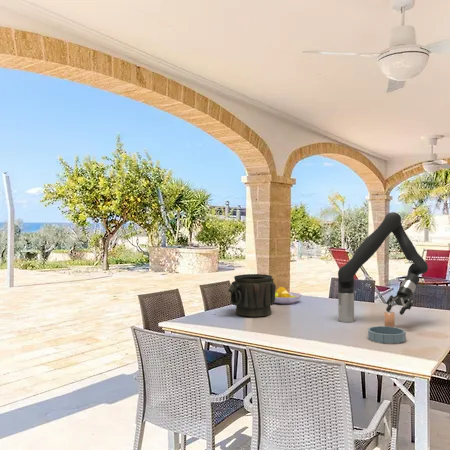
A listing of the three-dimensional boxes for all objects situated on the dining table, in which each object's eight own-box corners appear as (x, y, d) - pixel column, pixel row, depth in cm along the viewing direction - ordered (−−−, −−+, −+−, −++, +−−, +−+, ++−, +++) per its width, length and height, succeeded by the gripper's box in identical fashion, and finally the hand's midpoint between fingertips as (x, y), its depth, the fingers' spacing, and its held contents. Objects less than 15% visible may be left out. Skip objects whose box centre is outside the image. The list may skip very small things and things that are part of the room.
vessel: (225, 318, 288) (224, 279, 288) (236, 308, 319) (235, 273, 319) (273, 320, 281) (272, 279, 281) (279, 309, 312) (278, 273, 312)
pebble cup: (385, 331, 248) (385, 312, 247) (384, 329, 253) (383, 310, 253) (395, 332, 246) (395, 312, 246) (393, 329, 252) (393, 311, 251)
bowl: (369, 343, 226) (369, 334, 226) (366, 334, 244) (366, 325, 243) (408, 344, 222) (408, 335, 222) (402, 335, 240) (401, 326, 240)
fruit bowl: (306, 300, 344) (306, 286, 344) (292, 307, 321) (292, 291, 321) (273, 298, 359) (273, 283, 359) (257, 303, 336) (257, 288, 336)
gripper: (392, 284, 262) (380, 306, 256) (414, 287, 250) (402, 310, 244) (398, 292, 265) (386, 314, 259) (420, 295, 253) (408, 319, 247)
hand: (394, 312), depth 252 cm, fingers open, 8 cm apart
